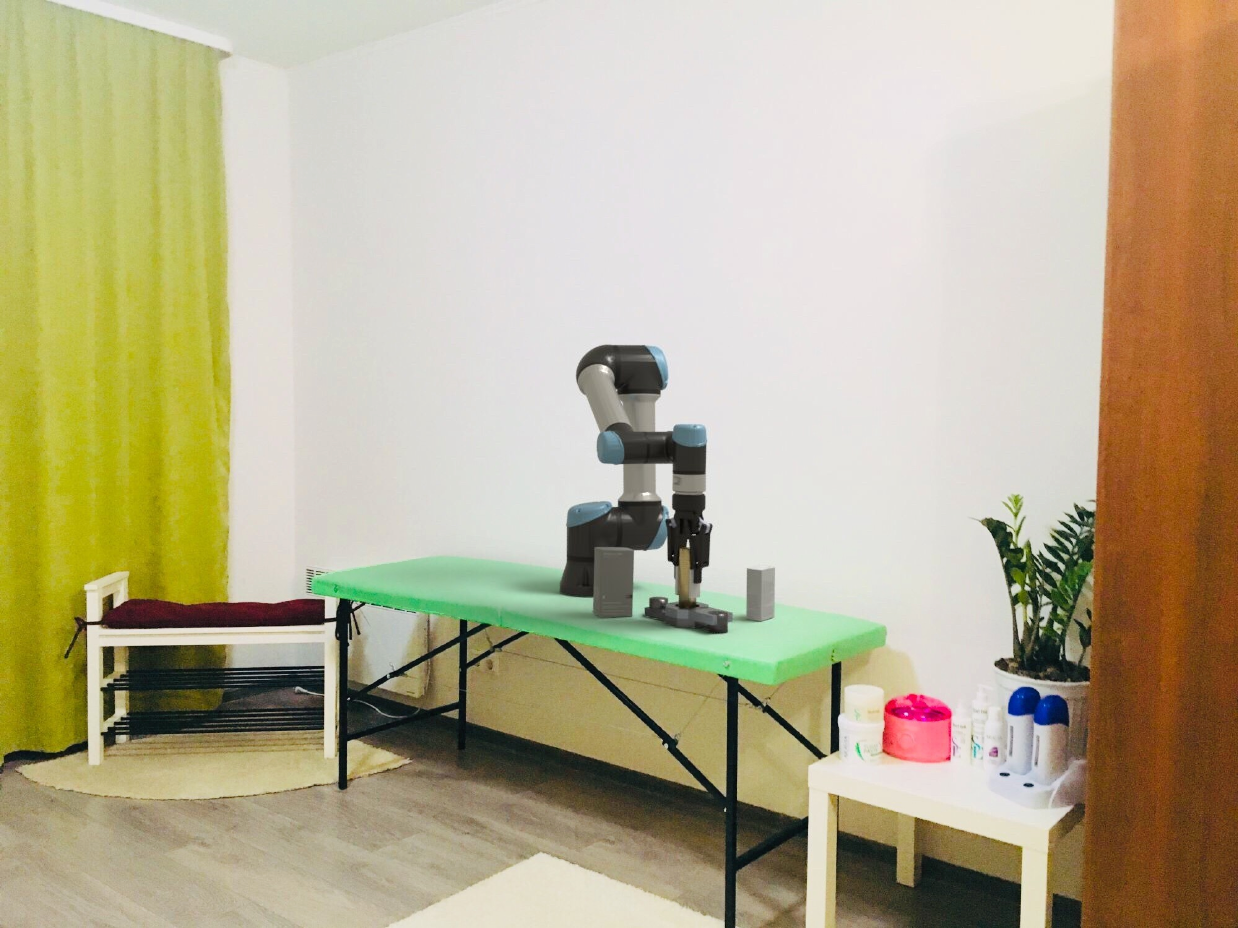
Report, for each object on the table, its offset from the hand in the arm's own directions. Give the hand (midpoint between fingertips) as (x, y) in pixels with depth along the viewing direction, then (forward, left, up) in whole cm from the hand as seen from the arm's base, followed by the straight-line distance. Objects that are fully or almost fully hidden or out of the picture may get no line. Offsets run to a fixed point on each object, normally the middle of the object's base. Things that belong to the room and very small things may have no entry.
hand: (687, 595), depth 231 cm
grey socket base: (0, 0, -6) cm, 6 cm away
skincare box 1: (-17, -8, -7) cm, 20 cm away
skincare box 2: (+6, +17, -7) cm, 19 cm away
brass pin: (0, 0, -4) cm, 4 cm away
